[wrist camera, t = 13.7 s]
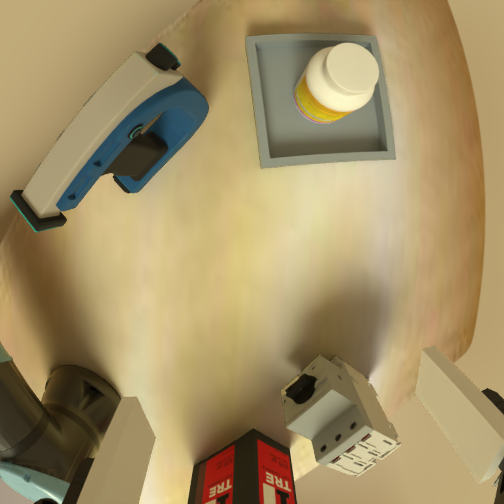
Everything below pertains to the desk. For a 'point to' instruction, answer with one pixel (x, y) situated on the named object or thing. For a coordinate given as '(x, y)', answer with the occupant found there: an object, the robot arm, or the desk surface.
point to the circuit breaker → (338, 416)
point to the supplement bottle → (336, 83)
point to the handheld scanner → (116, 137)
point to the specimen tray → (294, 123)
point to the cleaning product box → (245, 474)
